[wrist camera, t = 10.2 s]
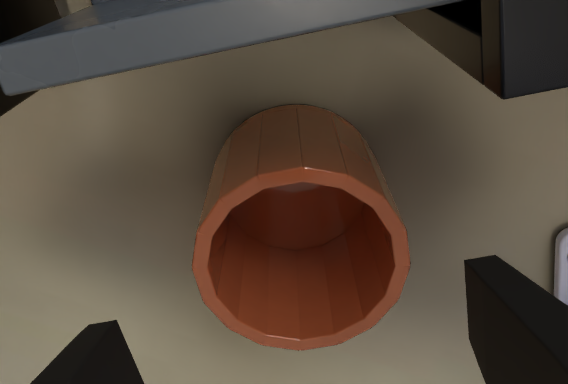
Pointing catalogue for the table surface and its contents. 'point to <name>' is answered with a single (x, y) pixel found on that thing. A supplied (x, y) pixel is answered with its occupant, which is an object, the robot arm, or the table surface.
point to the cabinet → (500, 41)
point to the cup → (299, 232)
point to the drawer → (154, 34)
